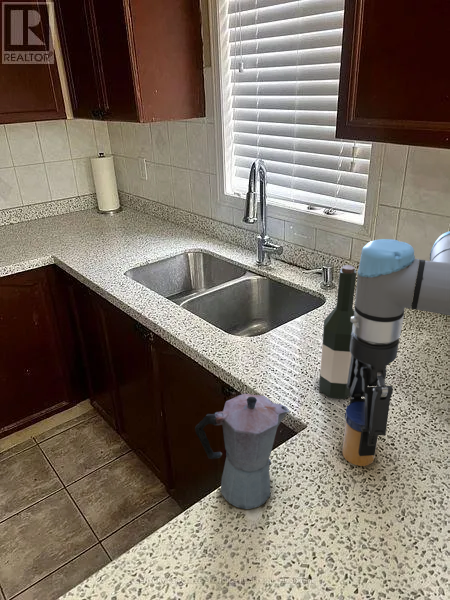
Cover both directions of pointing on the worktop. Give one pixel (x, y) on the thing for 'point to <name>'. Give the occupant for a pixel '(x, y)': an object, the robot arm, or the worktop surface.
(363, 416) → the jam lid
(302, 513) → the worktop surface
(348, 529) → the worktop surface
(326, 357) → the wine bottle
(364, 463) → the jam jar
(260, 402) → the moka pot
